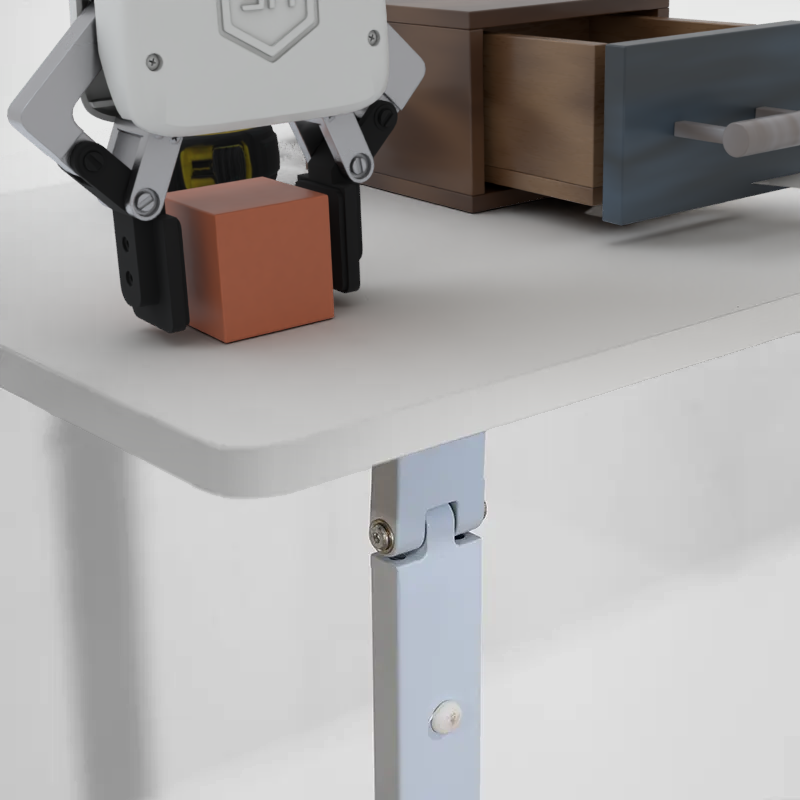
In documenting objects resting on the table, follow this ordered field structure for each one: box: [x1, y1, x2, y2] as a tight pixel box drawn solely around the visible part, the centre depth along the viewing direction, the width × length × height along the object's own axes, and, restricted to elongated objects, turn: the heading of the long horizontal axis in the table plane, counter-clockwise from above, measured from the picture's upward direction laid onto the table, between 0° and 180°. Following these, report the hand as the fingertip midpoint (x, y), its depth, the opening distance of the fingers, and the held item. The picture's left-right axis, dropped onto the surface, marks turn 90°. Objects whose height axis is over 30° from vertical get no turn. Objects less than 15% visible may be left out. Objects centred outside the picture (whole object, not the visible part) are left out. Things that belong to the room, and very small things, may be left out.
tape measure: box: [167, 125, 281, 193], centre depth 69 cm, size 7×7×4 cm
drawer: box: [482, 14, 800, 227], centre depth 63 cm, size 18×11×7 cm, turn 36°
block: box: [165, 177, 335, 344], centre depth 50 cm, size 4×4×4 cm
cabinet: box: [305, 0, 670, 214], centre depth 72 cm, size 15×13×9 cm
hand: (248, 299), depth 50 cm, fingers open, 6 cm apart
